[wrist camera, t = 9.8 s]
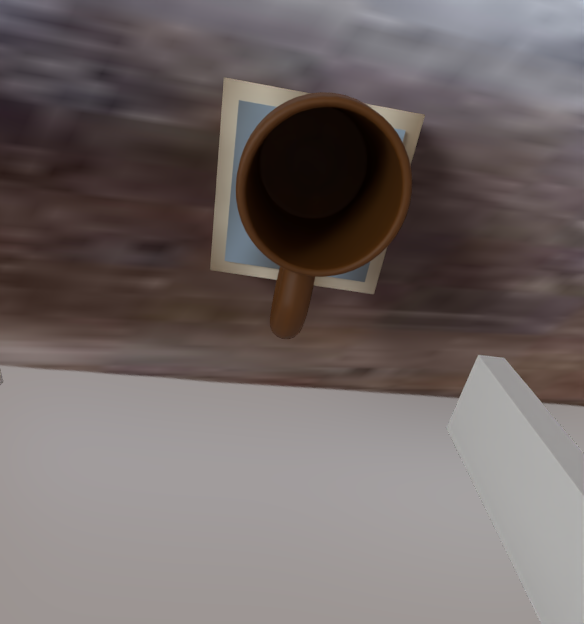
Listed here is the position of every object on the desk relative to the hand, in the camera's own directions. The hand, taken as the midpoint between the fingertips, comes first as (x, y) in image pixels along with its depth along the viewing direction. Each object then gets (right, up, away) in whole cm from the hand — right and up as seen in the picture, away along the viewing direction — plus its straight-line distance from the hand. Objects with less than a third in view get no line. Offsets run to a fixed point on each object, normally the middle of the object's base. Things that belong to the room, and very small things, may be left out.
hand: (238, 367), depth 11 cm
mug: (+2, +9, +15) cm, 18 cm away
